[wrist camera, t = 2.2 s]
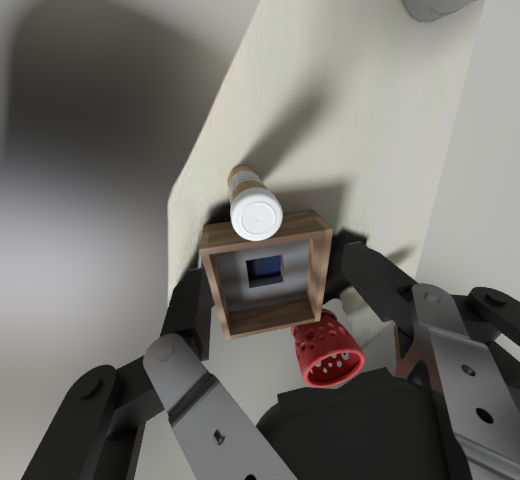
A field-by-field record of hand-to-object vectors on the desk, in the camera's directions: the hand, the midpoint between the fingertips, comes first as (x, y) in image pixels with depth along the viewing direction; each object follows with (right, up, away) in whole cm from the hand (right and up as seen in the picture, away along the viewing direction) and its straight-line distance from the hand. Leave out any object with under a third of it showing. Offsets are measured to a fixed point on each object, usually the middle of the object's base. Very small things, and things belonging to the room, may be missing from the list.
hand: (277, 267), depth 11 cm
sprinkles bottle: (-3, +10, +17) cm, 20 cm away
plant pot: (+12, -18, +37) cm, 43 cm away
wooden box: (0, -3, +25) cm, 26 cm away
